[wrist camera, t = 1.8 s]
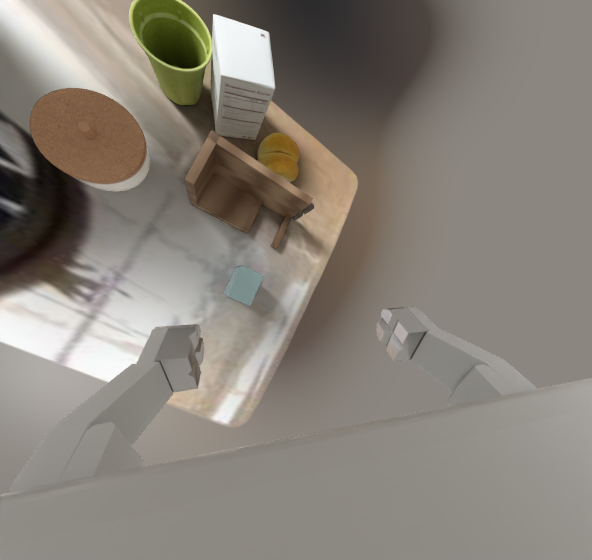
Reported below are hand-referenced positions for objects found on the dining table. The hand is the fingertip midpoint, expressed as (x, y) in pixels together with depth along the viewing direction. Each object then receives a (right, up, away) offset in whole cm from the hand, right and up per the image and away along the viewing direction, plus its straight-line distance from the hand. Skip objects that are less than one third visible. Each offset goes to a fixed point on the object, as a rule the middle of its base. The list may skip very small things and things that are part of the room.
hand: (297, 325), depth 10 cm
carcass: (-9, +15, +31) cm, 35 cm away
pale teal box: (-11, +1, +30) cm, 32 cm away
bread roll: (-4, +25, +33) cm, 42 cm away
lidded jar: (-28, +19, +23) cm, 41 cm away
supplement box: (-11, +31, +30) cm, 45 cm away
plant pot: (-19, +34, +26) cm, 47 cm away
